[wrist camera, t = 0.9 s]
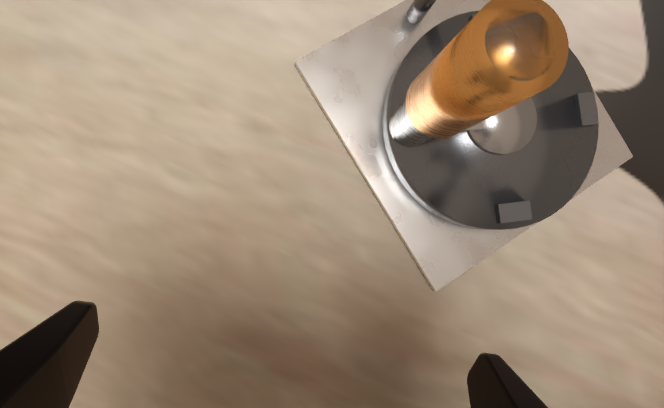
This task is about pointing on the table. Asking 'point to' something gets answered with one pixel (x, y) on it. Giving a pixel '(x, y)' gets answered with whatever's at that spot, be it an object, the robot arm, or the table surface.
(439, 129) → the metal joystick
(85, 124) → the table surface
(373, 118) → the flange plate
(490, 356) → the robot arm
